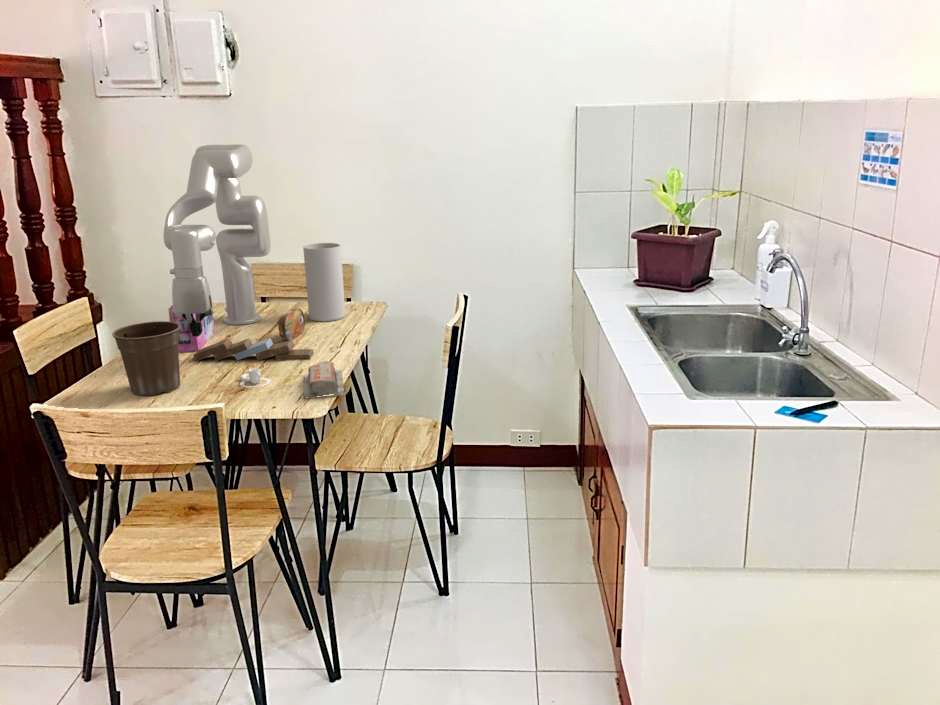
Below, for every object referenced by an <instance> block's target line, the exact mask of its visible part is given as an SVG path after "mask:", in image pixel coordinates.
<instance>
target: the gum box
mask: <svg viewBox="0 0 940 705" xmlns="http://www.w3.org/2000/svg"><path fill="white" fill-rule="evenodd" d="M193 315H194V318H195V321H196V313H194V314H193ZM168 317H169V318H168V319H169V322H175V323H178V324H179V325H180V329H179V342H178V351H179V353H180V352H181V353H185V352H186V353H187V352H197V351H198V350H200V349H202V348H203V346H204V345H205V344H207V342H208V341H209V340H210V338H211V337H212V336H213V335H214V334H215V333H216V329H215V322H214V313H213V314H212V315H210V316H207V317H205V318H204V319H203V320H202V321H201V322H202V333H201V335H200V336H198V337H196V336H195V337H193V336H192V333H191V332H190V324H189V323H188V322H187V320H186V319H184V318H183V317H179V316H176V315H175V312H174V310H173V304H172V305H170V306H169V308H168Z"/></svg>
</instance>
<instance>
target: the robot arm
mask: <svg viewBox="0 0 940 705" xmlns="http://www.w3.org/2000/svg"><path fill="white" fill-rule="evenodd" d="M252 165H253V154H252V150H251V149H250V148H249V147H248V146H247V145H246V144H207V145H200V146H199V147H197V148H196V149H195V152H194V154H193V156H192V159H191V162H190V169H189V175H188V179H187V180H188V181H187V187H186V192H185V194H183V195H182V196H181V197H179V198H178V199H177V200H176V201H175V202H174V204H172V205H171V207H170V208H169V210H168V212H167V214H166V216H165V222H164V228H163V234H162V235H163V237H162V238H163V243H164V246H165V247H166V248H167V249H168V250H170V251H172V260H173V268H172V269H171V268H170V269H169V274H170V275H173V276H174V278H172V281H171V282H172V283H171V284H172V286H171V295H172V296H171V298H172V305H173V310H174V312H175V315H176V316H179V317H183V318H184V319H186V320H187V322H188V323H189V324H190V332H191V333H192V336H193V337H195V336H196V337H198V336H200V335H201V333H202V322H201V321H202V320H203V319H204V318H205V317H207V316H210V315H212V314H213V315H214V310H213V300H212V299H213V298H212V294H211V290H210V286H209V282H208V280H207V276H206V275H204V270H203V262H202V253H201V252H205V251H209V250H211V249H213V248H214V247H215V245H216V248H217V252H218V255H219V259H220V263H221V264H220V265H221V272H222V279H223V288H224V297H225V305H226V308H224V311H225V312H226V314H227V315H226V316H224V317H223V319H222V320H223V323H224V324H225V325H230V326H231V325H232V326H233V325H234V326H239V325H240V326H241V325H249V324H254V323H257V322H260V321H261V319H262V315H261V314H259V313H257V310H256V309H257V308H256V301H255V292H254V291H255V290H254V280H253V273H252V268H251V265H250V264H249V263H248V262H247V261H246V259H245V258H262V257H266V256H268V255H269V253H270V252H271V236H270V229H269V219H268V212H267V207H266V203H265V201H264V199H263V198H262V197H260V196H258V195H243V194H242V192H241V184H240V183H241V182H240V179H239V178H241V177H242V176H243V175H245V174H246V173H248V172H249V171H250V170H251V168H252ZM213 204H215V210H216V215H217V219H218V222H219V223H220V224H221V225H224V226H251V227H252V228H240V227H239V228H227V229H223V230H221V231H219V232H218V233H217V234H216V231H215V230H214V228H213V227H211V226H210V225H207V224H182V223H183V222H184V220H185V219H186V218H188V217H189V216H191V215H193V214H195V213H197V212H200V211H201V210H204V209H206V208H208V207H211V206H212V205H213ZM194 313H196V321H195V318H194V315H193V314H194Z"/></svg>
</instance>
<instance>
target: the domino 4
mask: <svg viewBox="0 0 940 705" xmlns="http://www.w3.org/2000/svg"><path fill="white" fill-rule="evenodd" d="M294 347H295V342H294V340H285V341H282V342H278V343H275V344H273V345H272V346H271V347H270V348H269V349H268V350H265V351H262V352H259V353H257V354H254V355H255V357H256V360H257V361H261V360H265V359H268V358H271V357H274V356H275V355H279V354H283V353H286V352H290V351H291V350H292V349H294Z"/></svg>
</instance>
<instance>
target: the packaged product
mask: <svg viewBox="0 0 940 705" xmlns="http://www.w3.org/2000/svg"><path fill="white" fill-rule="evenodd" d="M307 370H308V373H305V374H304V389H303V398H304V399H305V398H306V397H317V396H323V395H329V394H334V395H337V396H336V397H341V396H344V392H345V390H344V379H343V378H344V377H343V370H342V369H336V367H335V364H334V362H333V361H328V360H325V361H322V362H318V363H315V364H313V365H310V366H309V367H308V369H307ZM306 399H307V398H306Z"/></svg>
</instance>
